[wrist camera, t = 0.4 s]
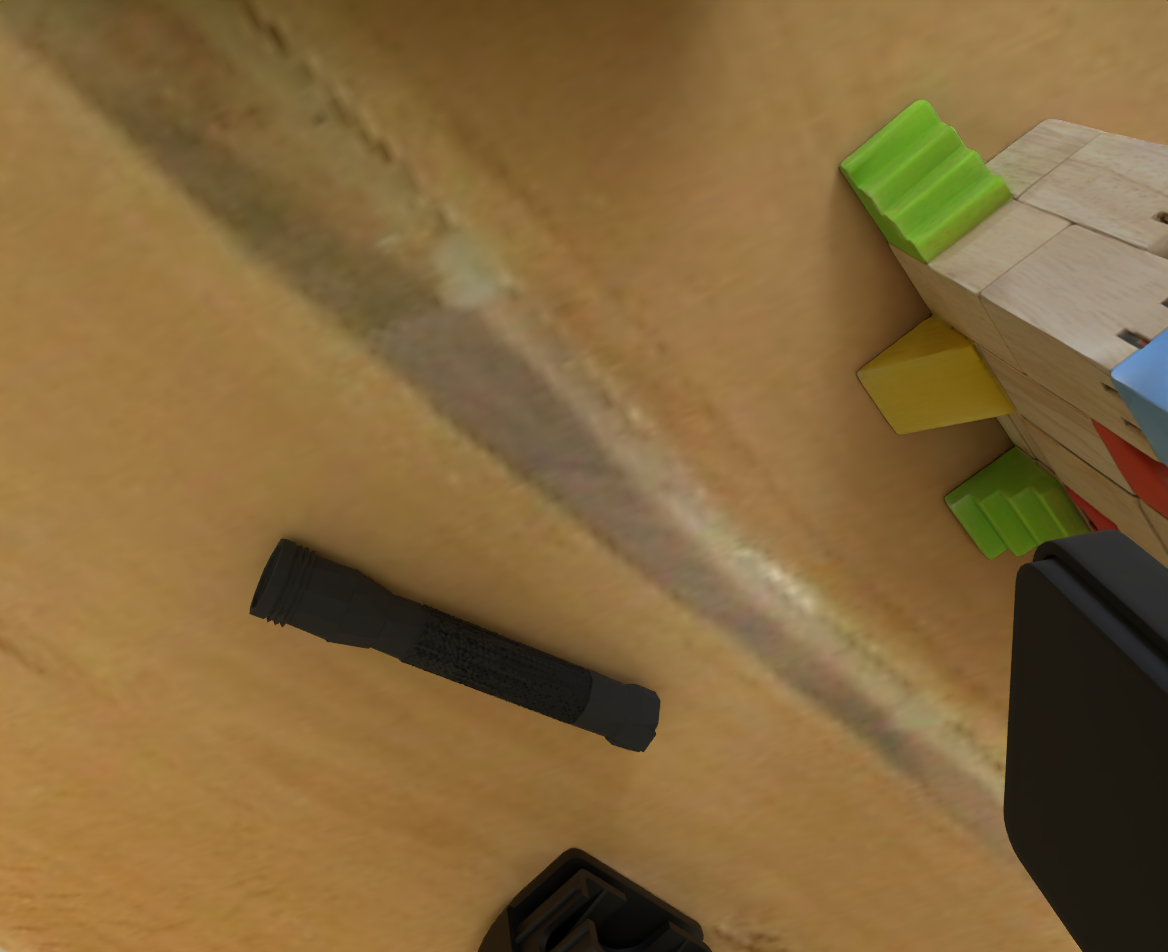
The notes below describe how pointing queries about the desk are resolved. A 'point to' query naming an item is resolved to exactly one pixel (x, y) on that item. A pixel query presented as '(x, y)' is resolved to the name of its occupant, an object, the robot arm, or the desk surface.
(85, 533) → the desk surface
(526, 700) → the flashlight
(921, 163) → the block set
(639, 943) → the end cap
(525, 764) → the desk surface
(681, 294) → the desk surface
